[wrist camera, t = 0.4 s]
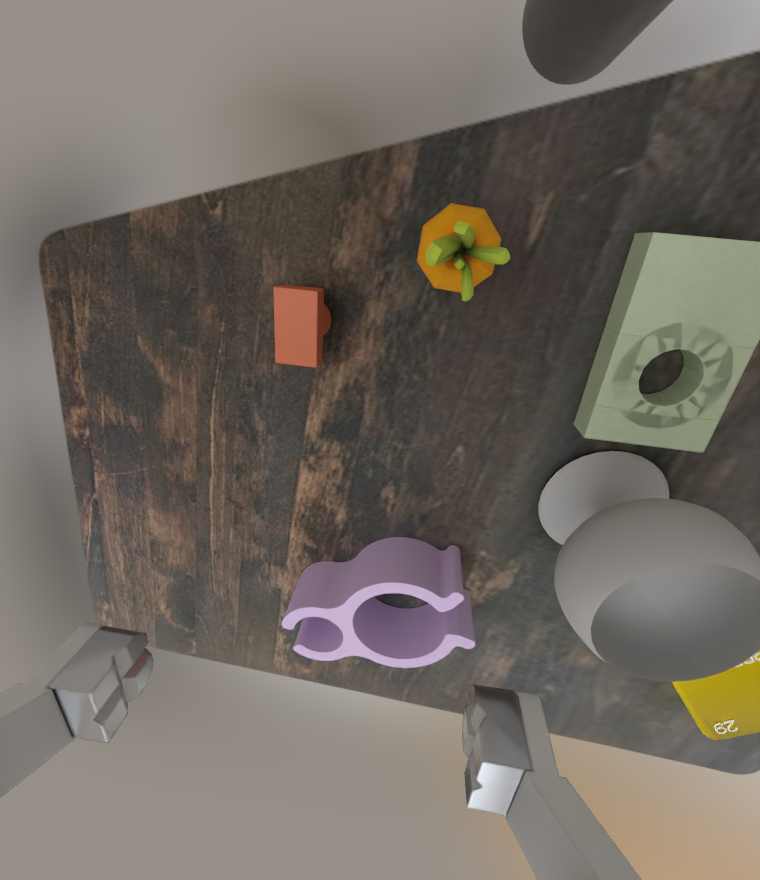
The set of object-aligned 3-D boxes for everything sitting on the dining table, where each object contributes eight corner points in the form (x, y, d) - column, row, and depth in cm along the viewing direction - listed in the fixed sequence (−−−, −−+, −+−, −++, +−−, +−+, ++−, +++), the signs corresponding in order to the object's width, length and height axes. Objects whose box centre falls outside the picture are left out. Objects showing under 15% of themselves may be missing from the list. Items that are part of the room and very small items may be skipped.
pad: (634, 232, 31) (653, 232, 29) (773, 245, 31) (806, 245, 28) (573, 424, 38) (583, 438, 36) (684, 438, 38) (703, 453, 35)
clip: (320, 625, 54) (306, 674, 48) (288, 551, 49) (267, 596, 43) (473, 610, 50) (479, 662, 44) (454, 528, 45) (458, 574, 39)
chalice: (693, 530, 42) (816, 667, 28) (556, 572, 46) (607, 708, 33) (654, 416, 37) (779, 515, 24) (506, 475, 41) (541, 587, 28)
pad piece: (291, 280, 36) (272, 286, 31) (332, 285, 36) (318, 291, 31) (292, 349, 38) (274, 362, 34) (330, 353, 38) (317, 368, 34)
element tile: (790, 589, 43) (830, 627, 39) (826, 674, 48) (864, 717, 44) (644, 634, 48) (664, 672, 44) (688, 707, 53) (711, 748, 49)
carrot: (495, 235, 32) (540, 232, 19) (458, 292, 35) (474, 325, 21) (443, 198, 32) (451, 168, 18) (408, 258, 34) (392, 270, 20)
